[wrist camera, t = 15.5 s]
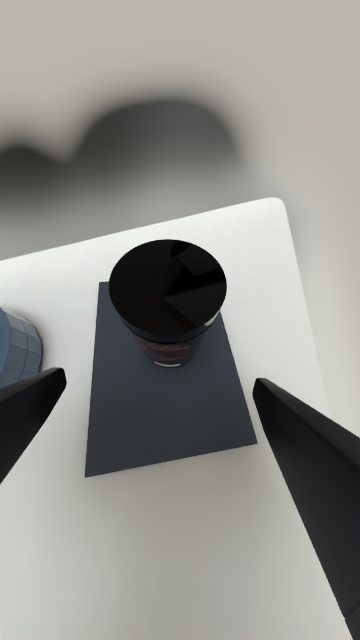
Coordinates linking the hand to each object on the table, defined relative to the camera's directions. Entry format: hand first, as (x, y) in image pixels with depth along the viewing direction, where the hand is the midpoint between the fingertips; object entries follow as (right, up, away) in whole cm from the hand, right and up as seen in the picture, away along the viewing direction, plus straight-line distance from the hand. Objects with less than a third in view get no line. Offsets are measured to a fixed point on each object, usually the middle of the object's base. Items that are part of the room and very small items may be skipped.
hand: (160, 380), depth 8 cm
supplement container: (0, +1, +11) cm, 11 cm away
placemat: (-1, 0, +11) cm, 11 cm away
